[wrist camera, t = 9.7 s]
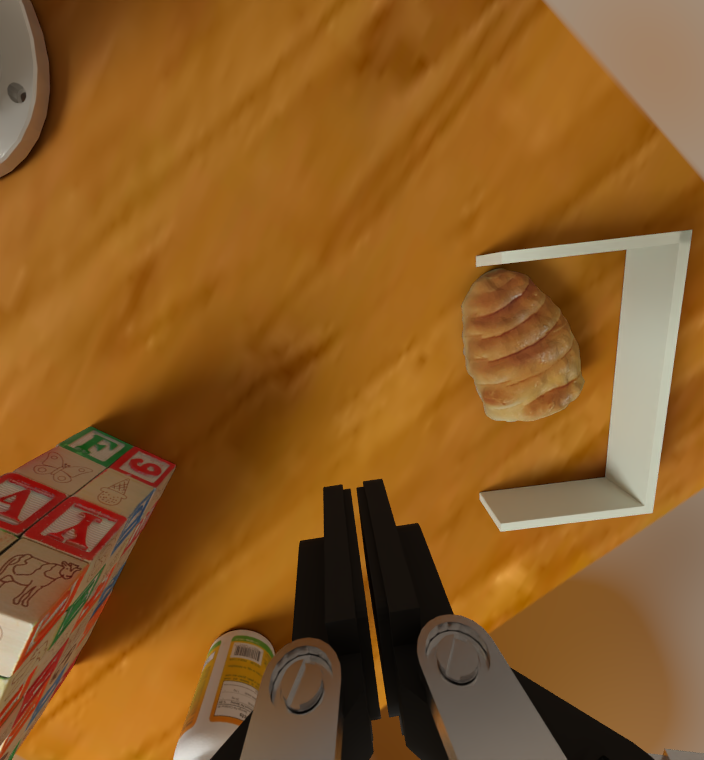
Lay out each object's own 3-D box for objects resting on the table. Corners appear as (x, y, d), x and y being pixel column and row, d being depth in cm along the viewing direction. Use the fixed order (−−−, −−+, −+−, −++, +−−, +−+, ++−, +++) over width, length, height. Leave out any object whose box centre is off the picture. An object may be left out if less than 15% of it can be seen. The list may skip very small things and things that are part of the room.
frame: (475, 256, 22) (501, 251, 18) (637, 237, 22) (692, 229, 18) (479, 499, 26) (500, 531, 23) (612, 483, 26) (652, 512, 23)
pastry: (429, 300, 22) (447, 304, 19) (527, 247, 22) (566, 240, 18) (485, 420, 25) (511, 444, 21) (574, 375, 24) (617, 392, 21)
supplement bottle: (225, 682, 30) (175, 863, 21) (199, 637, 29) (133, 809, 19) (285, 666, 30) (262, 840, 21) (261, 619, 29) (225, 784, 19)
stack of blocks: (76, 666, 29) (-101, 929, 17) (-2, 640, 28) (-248, 900, 16) (178, 462, 25) (32, 630, 13) (89, 421, 24) (-159, 563, 12)
